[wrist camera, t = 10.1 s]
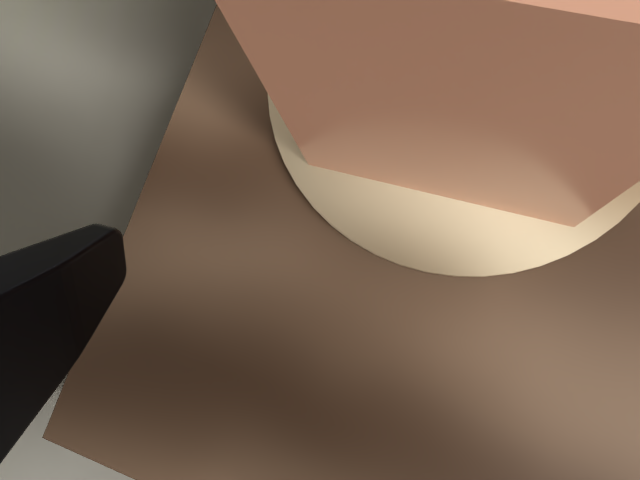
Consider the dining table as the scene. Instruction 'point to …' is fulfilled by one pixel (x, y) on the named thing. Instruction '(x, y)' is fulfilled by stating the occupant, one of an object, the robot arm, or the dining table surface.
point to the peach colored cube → (459, 94)
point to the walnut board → (349, 319)
